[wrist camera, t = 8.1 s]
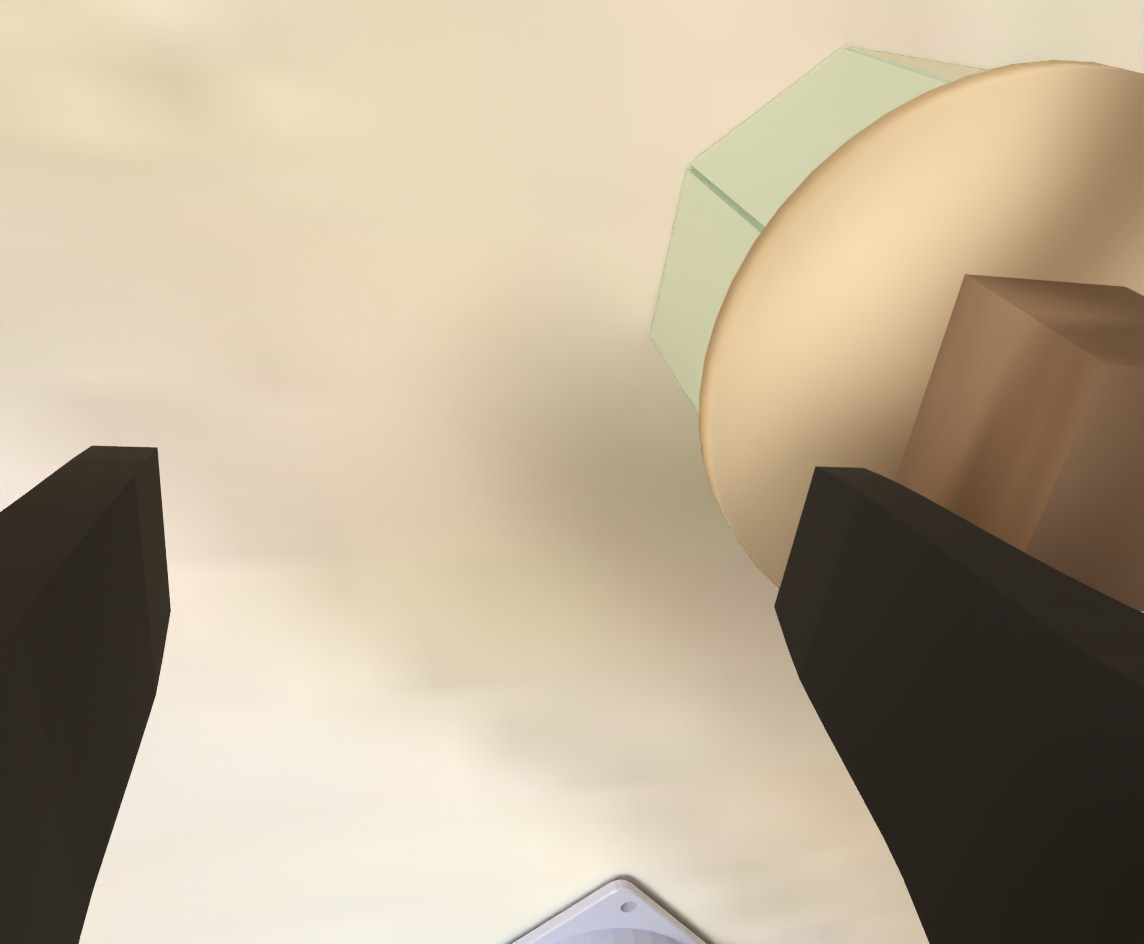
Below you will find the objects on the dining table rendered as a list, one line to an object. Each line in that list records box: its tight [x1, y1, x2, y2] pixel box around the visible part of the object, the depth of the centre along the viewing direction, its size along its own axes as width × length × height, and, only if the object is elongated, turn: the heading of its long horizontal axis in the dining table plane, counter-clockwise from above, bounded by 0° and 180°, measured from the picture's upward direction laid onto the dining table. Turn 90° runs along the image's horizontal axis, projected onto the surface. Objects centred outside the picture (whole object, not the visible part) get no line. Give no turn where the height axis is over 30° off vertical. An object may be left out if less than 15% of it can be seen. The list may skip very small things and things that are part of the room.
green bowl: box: [651, 46, 987, 413], centre depth 20 cm, size 9×9×5 cm
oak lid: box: [699, 60, 1144, 611], centre depth 16 cm, size 10×10×4 cm
